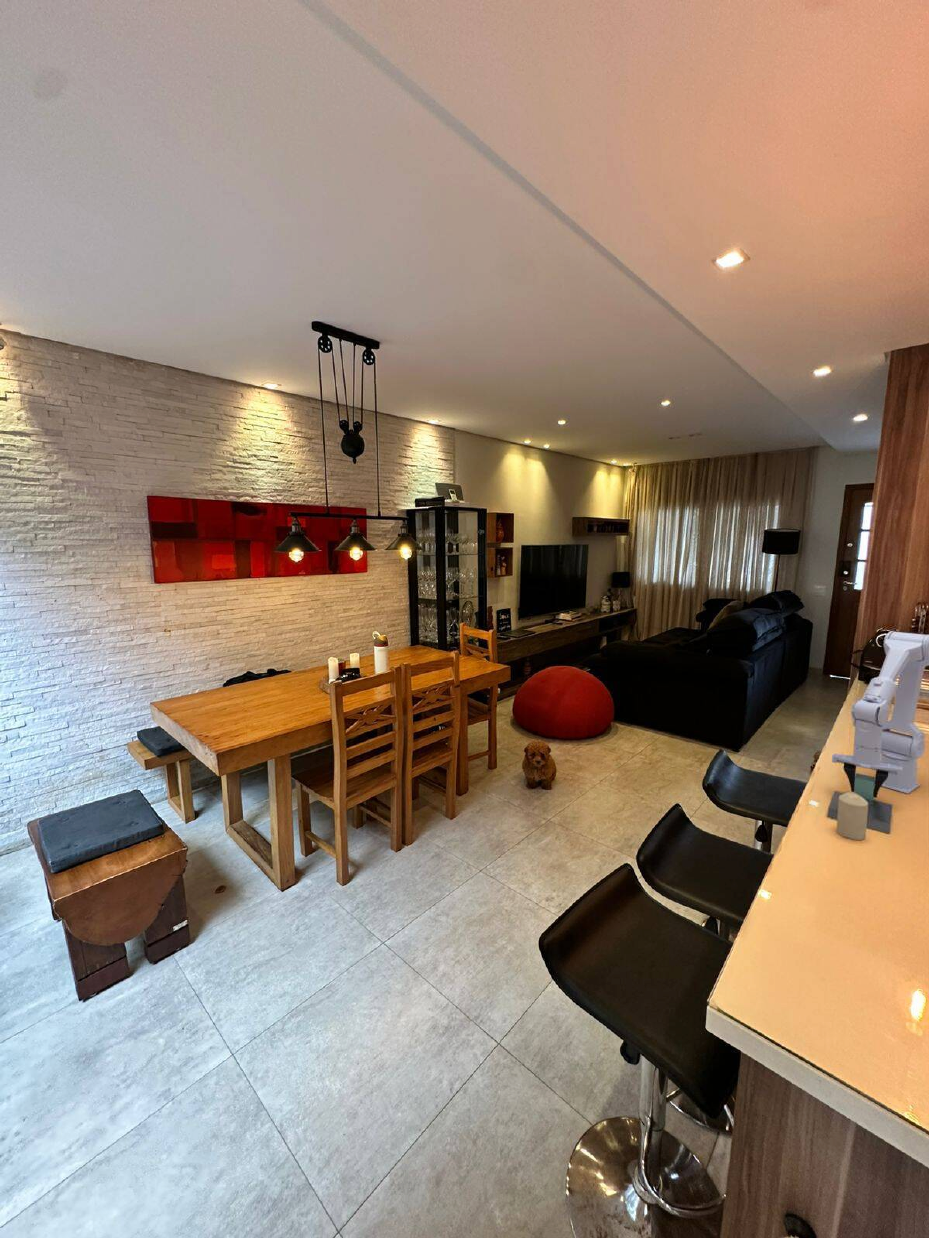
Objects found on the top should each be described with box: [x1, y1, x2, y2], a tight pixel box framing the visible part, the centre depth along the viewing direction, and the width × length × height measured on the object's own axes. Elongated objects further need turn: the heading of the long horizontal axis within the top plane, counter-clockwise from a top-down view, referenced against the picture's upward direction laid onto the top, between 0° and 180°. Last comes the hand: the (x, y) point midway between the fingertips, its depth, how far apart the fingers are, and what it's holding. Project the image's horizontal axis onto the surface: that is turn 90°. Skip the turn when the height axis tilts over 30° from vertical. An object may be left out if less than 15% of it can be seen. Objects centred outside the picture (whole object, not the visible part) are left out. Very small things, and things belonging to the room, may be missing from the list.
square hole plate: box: [827, 790, 893, 834], centre depth 127 cm, size 12×12×2 cm
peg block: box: [854, 772, 875, 800], centre depth 134 cm, size 4×4×6 cm
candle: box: [836, 791, 868, 841], centre depth 119 cm, size 6×6×10 cm
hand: (863, 793), depth 135 cm, fingers closed on peg block, 4 cm apart
